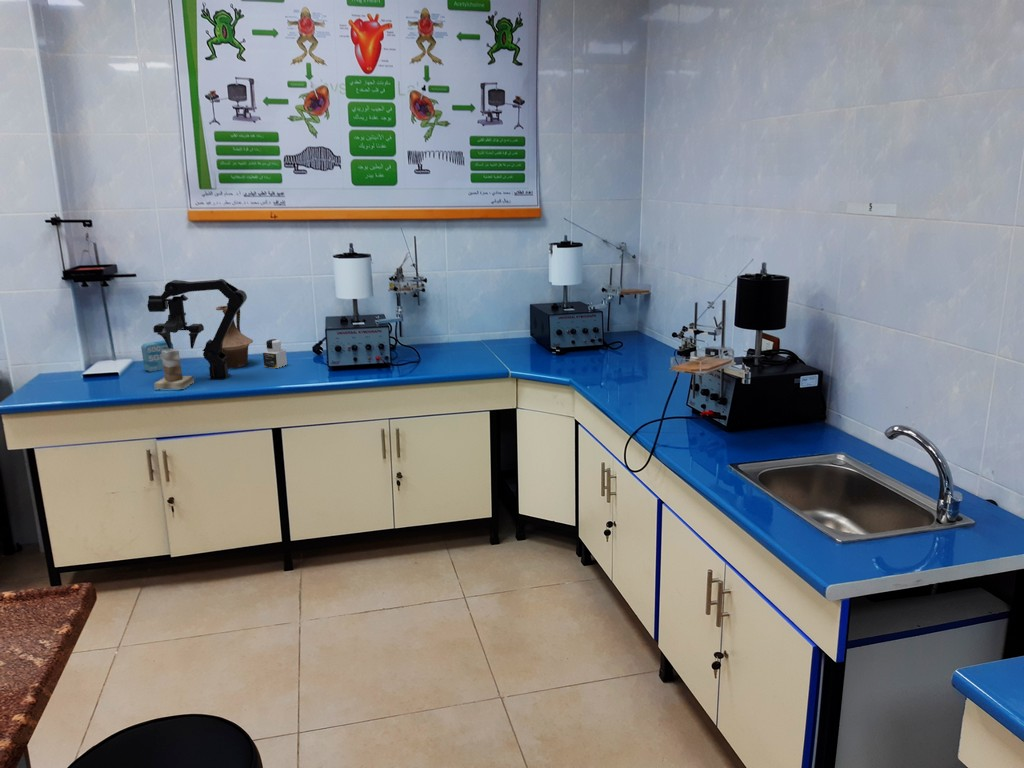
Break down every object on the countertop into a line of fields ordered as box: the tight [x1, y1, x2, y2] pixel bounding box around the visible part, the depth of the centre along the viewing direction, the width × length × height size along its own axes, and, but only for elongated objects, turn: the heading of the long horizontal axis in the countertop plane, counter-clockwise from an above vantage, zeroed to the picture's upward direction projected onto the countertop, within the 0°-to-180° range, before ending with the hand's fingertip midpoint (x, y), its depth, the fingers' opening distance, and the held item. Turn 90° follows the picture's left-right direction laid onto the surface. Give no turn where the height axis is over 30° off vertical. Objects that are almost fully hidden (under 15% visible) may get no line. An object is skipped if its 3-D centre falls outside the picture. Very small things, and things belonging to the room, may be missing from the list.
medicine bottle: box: [262, 338, 288, 369], centre depth 339 cm, size 7×7×12 cm
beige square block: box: [153, 375, 195, 391], centre depth 310 cm, size 11×11×3 cm
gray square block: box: [161, 348, 183, 382], centre depth 308 cm, size 5×5×12 cm
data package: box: [140, 339, 174, 373], centre depth 336 cm, size 12×4×12 cm, turn 135°
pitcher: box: [215, 302, 254, 369], centre depth 340 cm, size 18×17×28 cm
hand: (181, 348), depth 318 cm, fingers open, 9 cm apart
